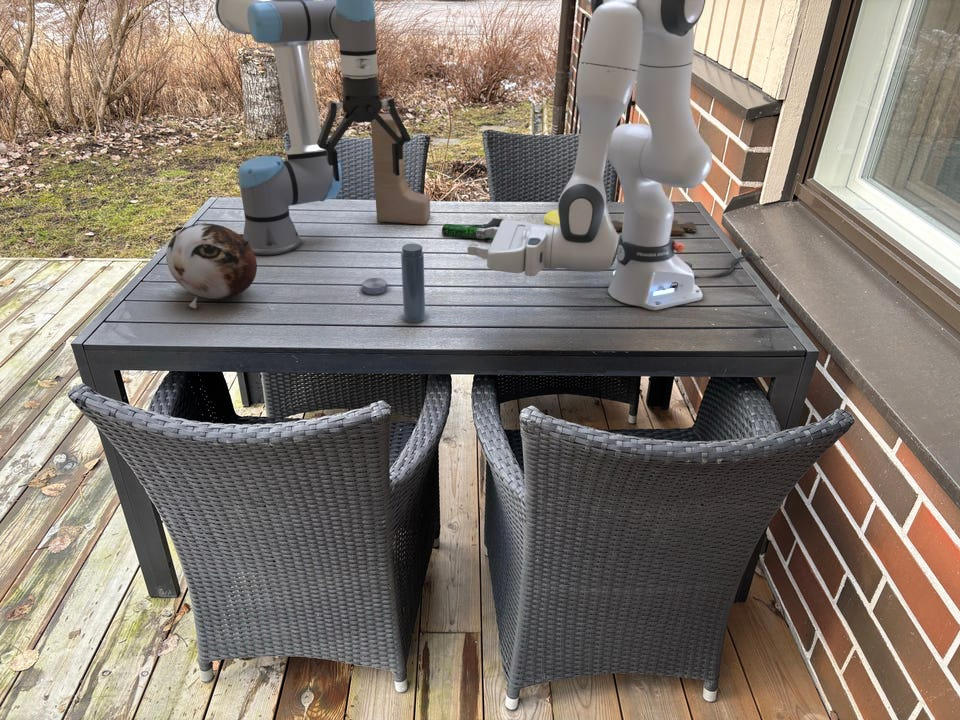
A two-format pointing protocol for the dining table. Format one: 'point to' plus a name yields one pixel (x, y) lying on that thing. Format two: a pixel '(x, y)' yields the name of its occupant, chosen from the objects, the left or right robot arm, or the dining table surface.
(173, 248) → the cat face balloon
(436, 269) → the dining table surface
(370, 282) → the lid
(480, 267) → the dining table surface
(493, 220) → the handgun
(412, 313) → the grey cylinder
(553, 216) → the yellow knobbed disc
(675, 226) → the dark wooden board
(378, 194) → the decorative block
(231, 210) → the dining table surface
